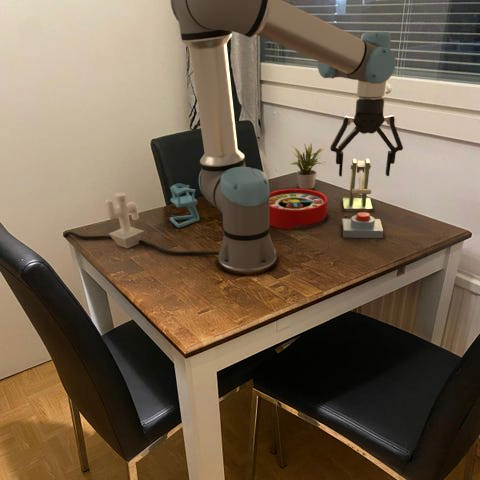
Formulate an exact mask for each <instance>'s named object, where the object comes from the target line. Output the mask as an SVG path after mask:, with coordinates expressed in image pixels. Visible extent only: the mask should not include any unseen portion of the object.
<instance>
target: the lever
mask: <svg viewBox="0 0 480 480" xmlns="http://www.w3.org/2000/svg"><path fill="white" fill-rule="evenodd" d="M356 162H357V165H356V174H358V188H354V189H352V194H354V195H362V194H367V195H371V194H372V189H371V188H367V189H364V188H363V180H364V170H365V160H356Z"/></svg>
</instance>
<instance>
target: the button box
mask: <svg viewBox="0 0 480 480" xmlns="http://www.w3.org/2000/svg"><path fill="white" fill-rule="evenodd" d="M356 219H357V214H356V215H353V216H351V218H342V219H341V224H342V238H350V239H351V238H354V239H355V238H359V239H383V238H384V228H383V225H382V221H381V218H375V217H373V216H371V215H370V218H369V221H358V220H356Z"/></svg>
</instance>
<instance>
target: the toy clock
mask: <svg viewBox="0 0 480 480" xmlns="http://www.w3.org/2000/svg"><path fill="white" fill-rule="evenodd" d="M327 215H328V197H327V196H326V195H325V194H323V193H322V192H320V191H316V190H312V189H302V188H287V189H278V190H275V191H270V195H269V226H271V227H274V228H278V229H284V230H294V227H295V226H297V227H298V226H299V227H300V226H307V225H313V224H316V223H319V222H321V221H323V220H325V218H326V217H327Z"/></svg>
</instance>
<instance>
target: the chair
mask: <svg viewBox="0 0 480 480" xmlns="http://www.w3.org/2000/svg"><path fill="white" fill-rule="evenodd" d="M169 189H170V192H171V195H172V197H171V198H170V202H171V203H172V204H174V205H175V206H176V208H182V207H186V208H187V209H188V211H189V213H190V214H189V215H180V216H179V215H178V216H169V221H170V222H171V223H172V224H173V225H174V226H175V227H177V228H178V229H180V228H183V227H185V226H188V225H190V224H193V223H196V222H199V221H200V215H199V212H198V211H197V207H196V206H197V204H198V200H197V199H196V198H195V193H196V189H193V188H190V185H189V184H184V183H181V182H180V183H178V182H177V183H175V184H173V185H172V186H170V187H169ZM184 193H185V194H186V195H183V196H181V195H182V194H184ZM190 193H192V194H191V195H190ZM180 220H181V221H183V220H186V221H184V222H181V223H178V221H180Z"/></svg>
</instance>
